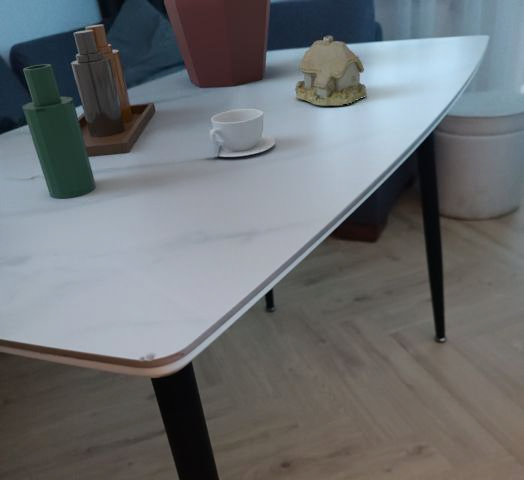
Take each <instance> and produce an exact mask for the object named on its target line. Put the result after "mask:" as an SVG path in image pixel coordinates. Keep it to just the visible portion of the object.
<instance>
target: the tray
mask: <svg viewBox="0 0 524 480" xmlns="http://www.w3.org/2000/svg"><path fill="white" fill-rule="evenodd" d="M130 105H131V110H132V114H133V120H132V121H130V122H127V123H124V124H125V128H126V129H125V131H123V132H121V133H119V134H116V135H111V136H106V137H92V136H90V134H89V130H88V126H87V122H86V119H85V115H84V112H82V113H81V115H79V116H78V120H79V124H80V128H81V131H82V135H83V139H84V143H85V146H86V150H87V154H88V158H94V157H103V156H112V155H113V156H114V155H123V154H129V153H130V152H131V150H132V149H133V147H134V145H135V144H136V142H137V141H138V139H139V138H140V137H141V135H142V133H143V132H144V130H145V129H146V127H147V126H148V124H149V123H150V121H151V119H152V118H153V116H154V115H155V113H156V106H155V102H147V103H146V102H145V103H137V104H130Z"/></svg>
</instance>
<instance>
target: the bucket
mask: <svg viewBox="0 0 524 480" xmlns="http://www.w3.org/2000/svg"><path fill="white" fill-rule="evenodd" d="M163 4H164V7H165V10H166V13H167V16H168V19H169V21H170V24H171V28H172V31H173V34H174V37H175V40H176V43H177V45H178V49H179V51H180V55H181V57H182V61H183V63H184V66H185V69H186V72H187V76H188V78H189V81H190V83H191V84H192V85H194V86H196V87H197V88H199V89H203V88H227V87H236V86H240V85H244V84H248V82H249V83H252V81H253V82H257V81H260V80H259V79H262V78H263V79H264V76H265V74H266V67H267V66H266V64H267V52H268V39H269V27H270V26H269V25H270V13H271V0H163ZM264 73H265V74H264ZM263 79H262V80H263ZM256 80H257V81H256Z"/></svg>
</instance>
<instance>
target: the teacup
mask: <svg viewBox="0 0 524 480" xmlns="http://www.w3.org/2000/svg"><path fill="white" fill-rule="evenodd" d="M210 120H211V125H212V129H210V131H209V133H208V137H209V140H210V142H211V144H213V145H215V146H219V148H218V152H217V157H221V158H235V157H236V158H237V157H244V156H251V155H255V154H259V153H262V152H265V151H267V150H269V149H271V148H272V147H274V146H275V144H276V140H274V138H272V137H269V136H265V135H264V136H262V135H263V131H264V112H263V111H262V110H260V109H257V108H239V109H231V110H226V111H223V112H219V113H216V114H214V115H213V116H212V117H211V118H210ZM215 138H216V139H217V141H216V139H215Z"/></svg>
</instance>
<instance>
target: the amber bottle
mask: <svg viewBox="0 0 524 480" xmlns="http://www.w3.org/2000/svg"><path fill="white" fill-rule="evenodd" d="M84 28H85V30H93V31H94V35H95V39H96V44H97V48H98V51H101V52H102V55H103V56H106V57H109V58H110V62H111V66H112V71H113V75H114V79H115V84H116V88H117V93H118V97H119V102H120V106H121V111H122V115H123V120H124V123H127V122H130V121H132V120H133V114H132V110H131V105H132V104H131V101H130V97H129V92H128V87H127V82H126V78H125V73H124V69H123V63H122V59H121V54H120V50H118V49H113V46H112V44H110V43H109V42H108V37H107V34H106V28H105V25H104V24H94V25H88V26H85V27H84Z"/></svg>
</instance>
